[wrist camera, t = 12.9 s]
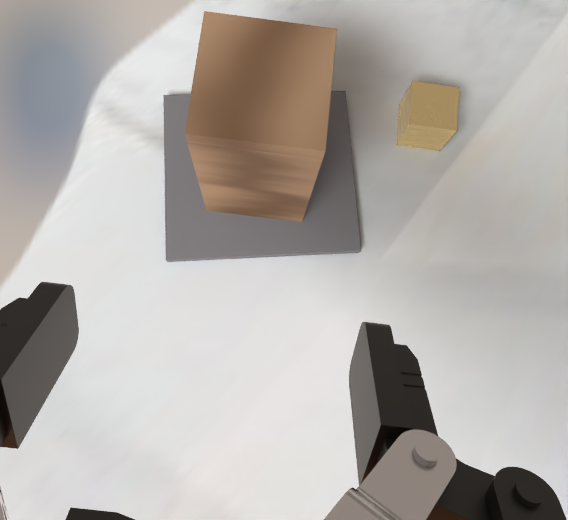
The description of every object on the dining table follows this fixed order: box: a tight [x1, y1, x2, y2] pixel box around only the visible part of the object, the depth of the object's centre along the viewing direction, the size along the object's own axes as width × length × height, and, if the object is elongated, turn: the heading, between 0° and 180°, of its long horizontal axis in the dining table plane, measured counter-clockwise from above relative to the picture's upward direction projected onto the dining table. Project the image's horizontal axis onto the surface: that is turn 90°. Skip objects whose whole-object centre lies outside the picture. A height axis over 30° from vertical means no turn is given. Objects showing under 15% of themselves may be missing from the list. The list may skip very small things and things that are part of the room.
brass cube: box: [396, 81, 459, 151], centre depth 33 cm, size 3×3×3 cm
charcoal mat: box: [164, 91, 361, 262], centre depth 32 cm, size 12×11×1 cm
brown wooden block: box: [185, 11, 337, 222], centre depth 27 cm, size 6×6×10 cm
